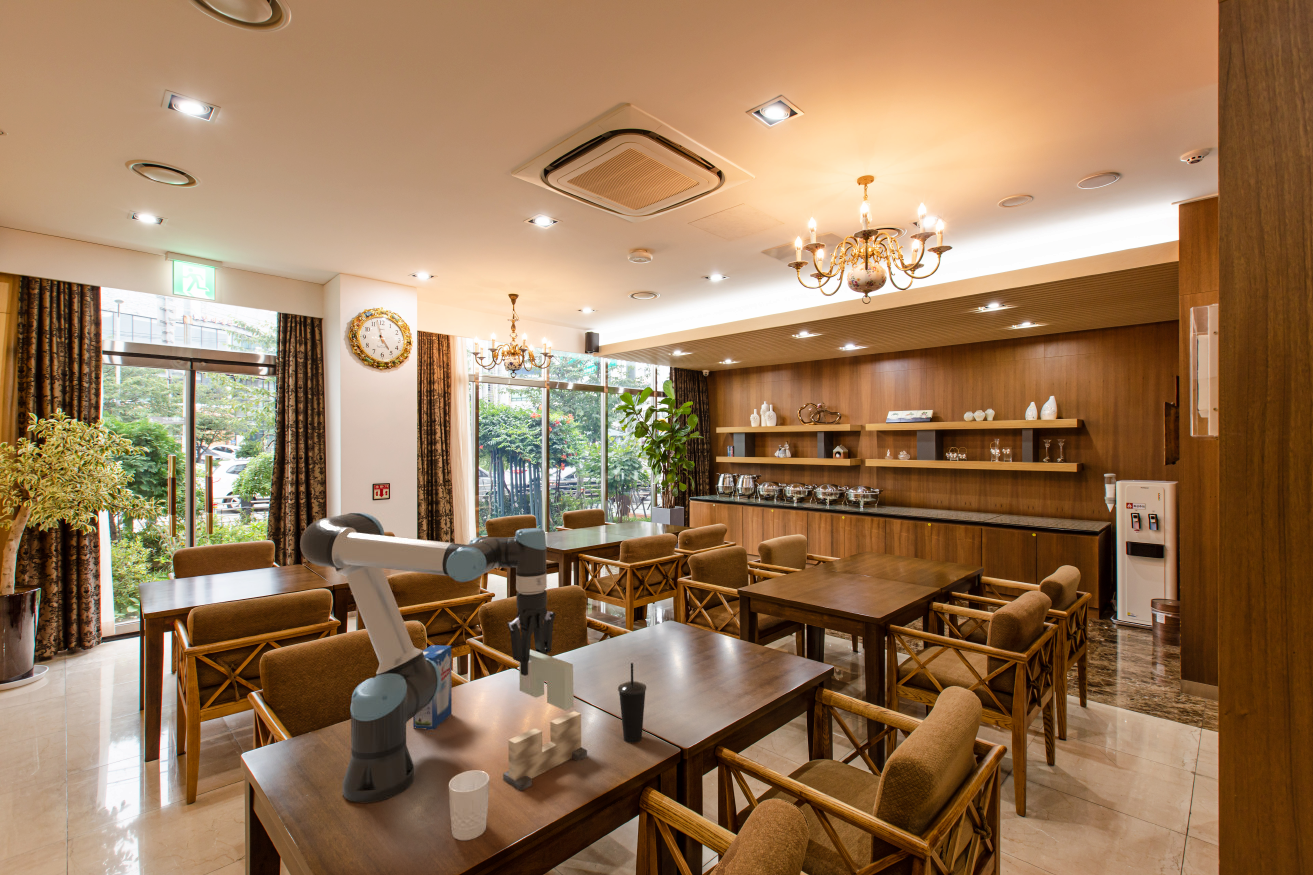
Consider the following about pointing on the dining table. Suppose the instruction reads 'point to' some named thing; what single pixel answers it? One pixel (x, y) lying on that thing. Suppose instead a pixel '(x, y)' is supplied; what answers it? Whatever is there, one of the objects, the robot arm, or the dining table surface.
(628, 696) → the drinking cup
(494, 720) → the dining table surface
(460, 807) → the white cup
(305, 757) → the dining table surface
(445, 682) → the milk carton
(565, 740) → the maple board
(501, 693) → the dining table surface
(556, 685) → the sage board
